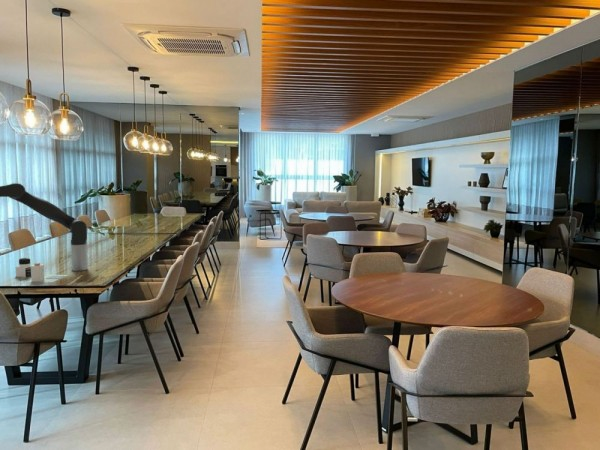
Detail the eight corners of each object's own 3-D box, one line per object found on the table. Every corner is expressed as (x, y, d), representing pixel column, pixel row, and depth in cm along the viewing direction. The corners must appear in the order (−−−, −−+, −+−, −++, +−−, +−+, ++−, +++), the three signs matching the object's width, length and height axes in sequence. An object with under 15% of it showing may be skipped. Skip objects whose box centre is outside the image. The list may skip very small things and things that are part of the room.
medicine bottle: (25, 279, 279) (25, 259, 278) (15, 278, 281) (14, 259, 279) (34, 276, 286) (34, 257, 285) (25, 275, 288) (24, 256, 286)
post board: (44, 276, 287) (44, 268, 287) (68, 276, 287) (68, 269, 287) (26, 283, 269) (26, 275, 268) (52, 284, 268) (51, 276, 268)
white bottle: (31, 281, 269) (30, 264, 268) (35, 279, 274) (34, 262, 273) (41, 281, 270) (40, 264, 269) (44, 279, 275) (43, 262, 274)
